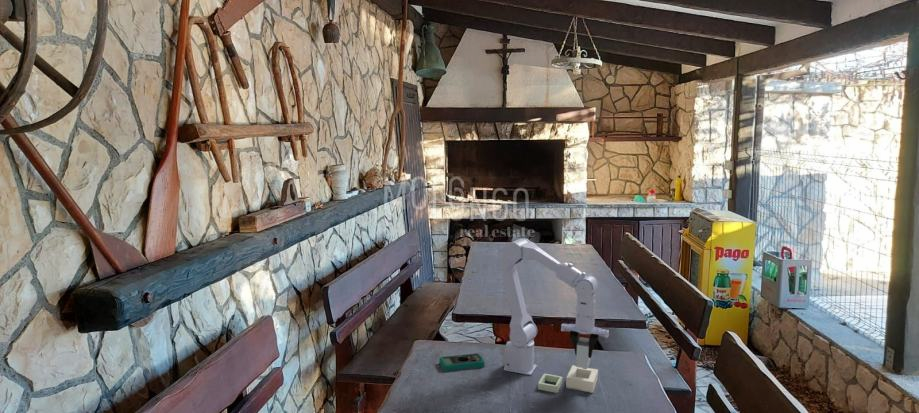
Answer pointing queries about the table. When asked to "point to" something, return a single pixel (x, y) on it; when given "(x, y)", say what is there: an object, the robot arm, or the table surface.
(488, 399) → the table surface
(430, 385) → the table surface
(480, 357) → the digital multimeter
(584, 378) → the frame
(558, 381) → the pale green rectangular frame
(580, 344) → the plug
